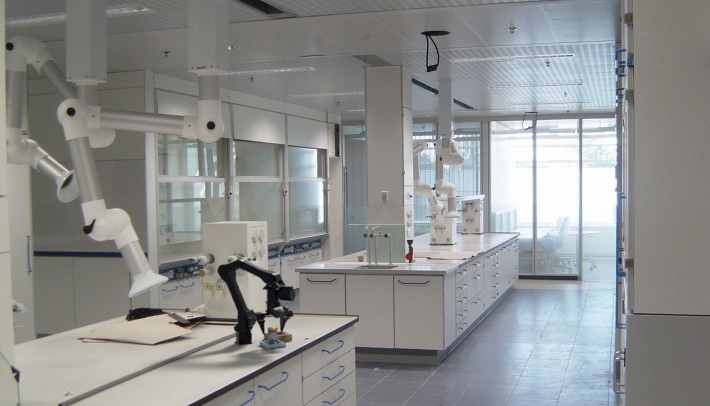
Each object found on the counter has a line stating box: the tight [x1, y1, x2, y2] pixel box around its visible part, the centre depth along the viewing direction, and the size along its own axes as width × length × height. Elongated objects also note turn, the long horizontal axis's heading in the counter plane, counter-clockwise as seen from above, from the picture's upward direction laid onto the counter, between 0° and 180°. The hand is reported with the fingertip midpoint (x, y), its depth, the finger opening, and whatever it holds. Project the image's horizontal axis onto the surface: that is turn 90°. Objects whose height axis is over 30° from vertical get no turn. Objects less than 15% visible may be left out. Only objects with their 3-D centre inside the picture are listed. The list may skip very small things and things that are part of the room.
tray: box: [259, 340, 287, 350], centre depth 339 cm, size 9×9×2 cm
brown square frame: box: [263, 330, 293, 343], centre depth 352 cm, size 10×10×3 cm
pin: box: [266, 326, 279, 345], centre depth 339 cm, size 5×5×8 cm
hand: (272, 333), depth 339 cm, fingers open, 9 cm apart
